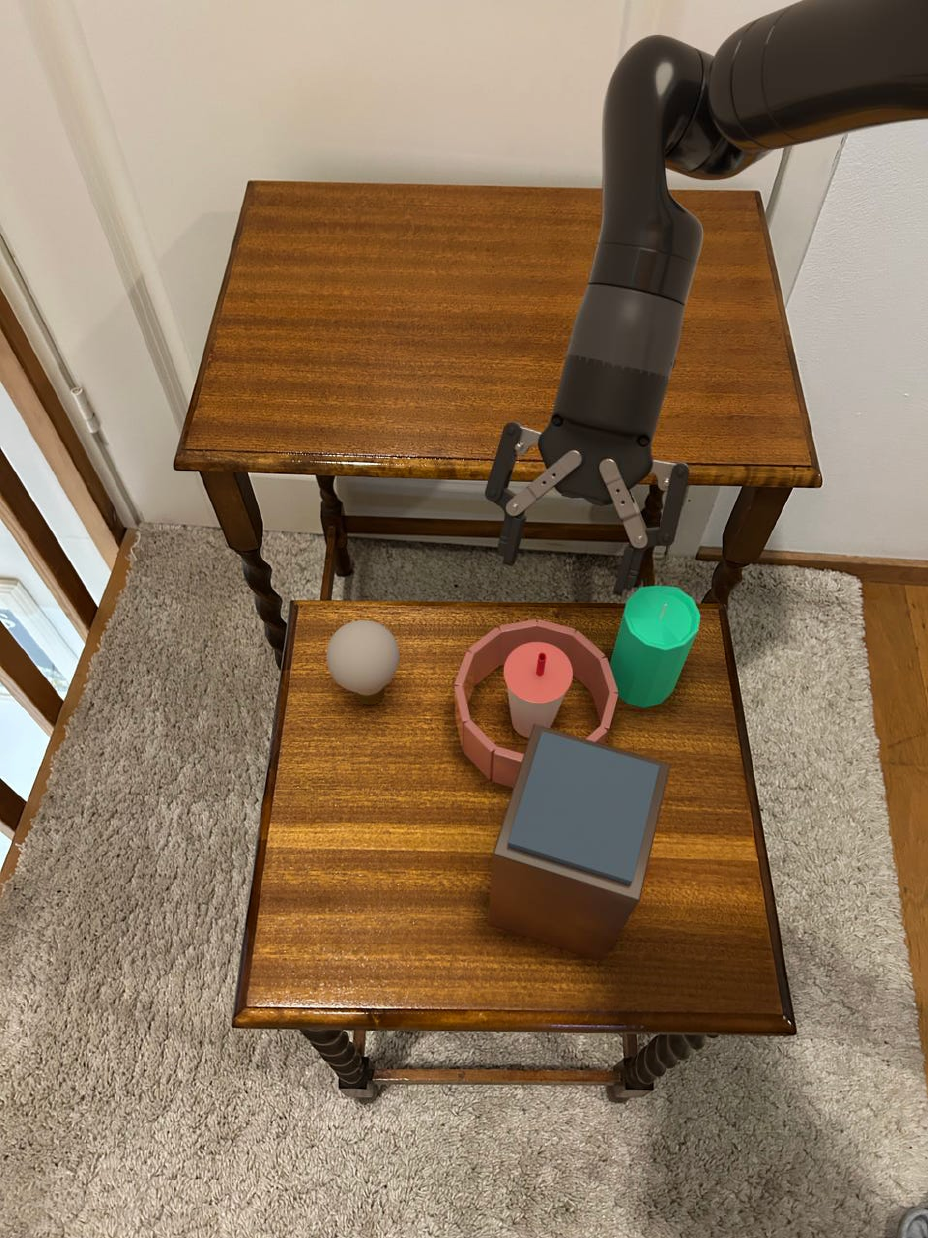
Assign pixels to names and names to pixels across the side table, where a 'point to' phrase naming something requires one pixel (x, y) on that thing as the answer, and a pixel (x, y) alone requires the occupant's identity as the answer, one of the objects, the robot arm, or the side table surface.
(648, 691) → the candle
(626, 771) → the coaster
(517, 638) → the pink segmented ring
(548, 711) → the cup
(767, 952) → the side table surface
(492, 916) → the stand
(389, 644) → the light bulb
